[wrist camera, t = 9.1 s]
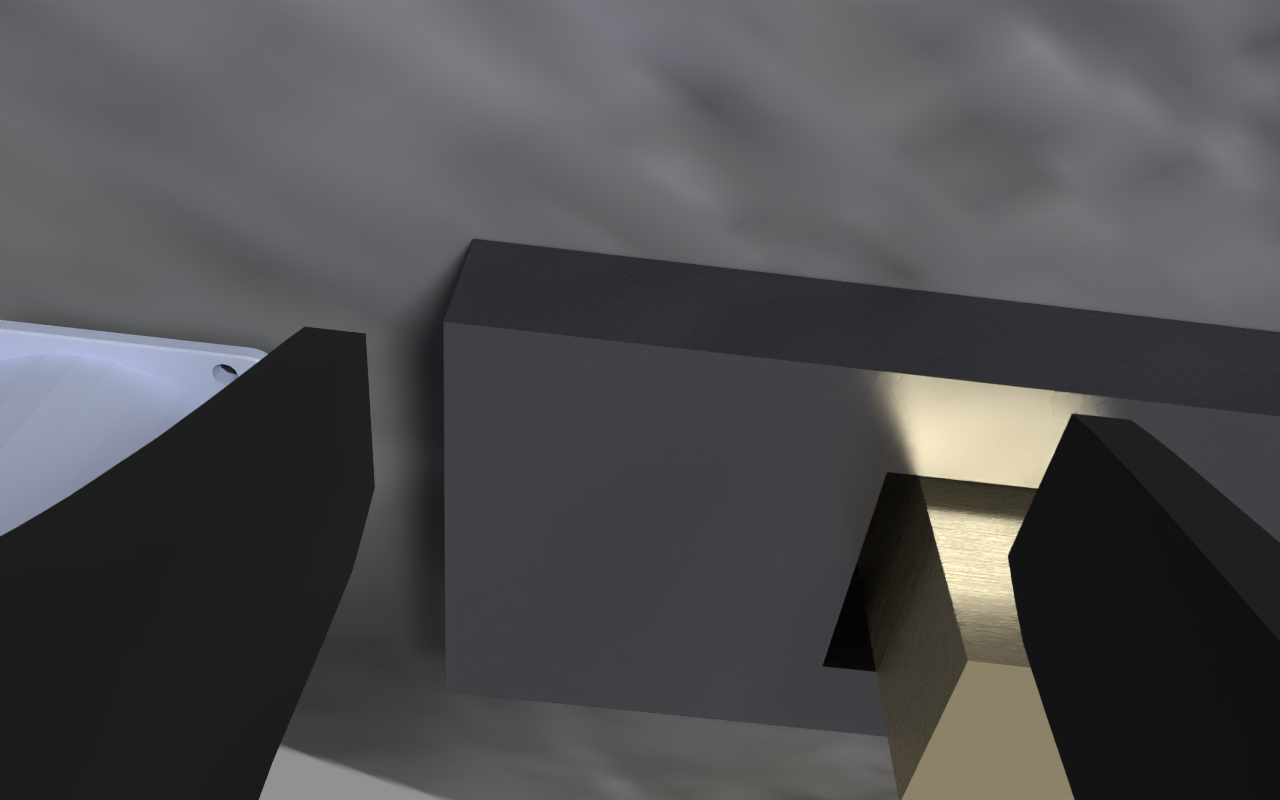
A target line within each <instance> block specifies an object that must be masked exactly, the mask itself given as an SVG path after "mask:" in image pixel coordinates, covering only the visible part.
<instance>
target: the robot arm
mask: <svg viewBox="0 0 1280 800" xmlns="http://www.w3.org/2000/svg"><path fill="white" fill-rule="evenodd" d="M220 364H225V365H228V366H231V367H232V368H233V369H234V370H236V372H237V374H232V373H228V372H226V371H225V370H224V369H223V368H222V367H221V365H220ZM374 488H375V484H374V467H373V450H372V434H371V417H370V400H369V383H368V366H367V349H366V334H365V333H356V332H347V331H338V330H329V329H320V328H311V327H304V328H302V329H301V330H299V331H298V332H297V333H295V334H294V335H293V336H291V337H290V338H289V339H287V340H286V341H285V342H283V343H282V344H281V345H279V346H278V347H277V348H275V349H274V350H273V351H272V352H270V353H269V354H267V353H265V352H263V351H261V350H258V349H254V348H247V347H238V346H229V345H220V344H211V343H202V342H193V341H184V340H175V339H166V338H157V337H148V336H140V335H131V334H122V333H113V332H104V331H95V330H86V329H77V328H68V327H59V326H50V325H41V324H32V323H23V322H14V321H5V320H0V800H259V797H260V794H261V792H262V789H263V786H264V784H265V781H266V778H267V776H268V773H269V770H270V767H271V765H272V762H273V760H274V757H275V755H276V753H277V750H278V748H279V745H280V743H281V741H282V738H283V736H284V734H285V731H286V729H287V726H288V724H289V722H290V719H291V717H292V715H293V712H294V710H295V707H296V705H297V703H298V700H299V698H300V696H301V693H302V691H303V688H304V686H305V684H306V681H307V679H308V677H309V674H310V672H311V669H312V667H313V665H314V662H315V660H316V658H317V655H318V653H319V650H320V648H321V646H322V643H323V641H324V639H325V636H326V634H327V631H328V629H329V626H330V624H331V622H332V619H333V617H334V614H335V612H336V610H337V607H338V605H339V602H340V600H341V597H342V595H343V593H344V590H345V588H346V585H347V583H348V580H349V578H350V575H351V573H352V569H353V566H354V562H355V559H356V555H357V552H358V548H359V545H360V541H361V538H362V534H363V530H364V526H365V523H366V519H367V515H368V511H369V507H370V503H371V500H372V496H373V492H374ZM1008 561H1009V568H1010V574H1011V580H1012V587H1013V593H1014V599H1015V605H1016V610H1017V615H1018V620H1019V626H1020V631H1021V636H1022V641H1023V645H1024V648H1025V651H1026V654H1027V658H1028V661H1029V664H1030V667H1031V670H1032V673H1033V677H1034V680H1035V683H1036V686H1037V689H1038V692H1039V695H1040V698H1041V701H1042V704H1043V707H1044V710H1045V713H1046V716H1047V719H1048V722H1049V725H1050V728H1051V731H1052V734H1053V737H1054V740H1055V743H1056V746H1057V749H1058V752H1059V755H1060V758H1061V761H1062V764H1063V767H1064V770H1065V773H1066V776H1067V779H1068V782H1069V785H1070V788H1071V791H1072V794H1073V797H1074V800H1280V542H1279V541H1278V540H1276V539H1275V538H1274V537H1273V536H1272V535H1270V534H1269V533H1268V532H1267V531H1266V530H1264V529H1263V528H1262V527H1261V526H1260V525H1259V524H1257V523H1256V522H1255V521H1254V520H1253V519H1252V518H1250V517H1249V516H1248V515H1247V514H1246V513H1244V512H1243V511H1242V510H1241V509H1240V508H1239V507H1237V506H1236V505H1235V504H1234V503H1233V502H1232V501H1230V500H1229V499H1228V498H1227V497H1226V496H1225V495H1223V494H1222V493H1221V492H1220V491H1219V490H1218V489H1216V488H1215V487H1214V486H1213V485H1212V484H1211V483H1209V482H1208V481H1207V480H1206V479H1205V478H1203V477H1202V476H1201V475H1200V474H1199V473H1198V472H1196V471H1195V470H1194V469H1193V468H1192V467H1190V466H1189V465H1188V464H1187V463H1186V462H1184V461H1183V460H1182V459H1181V458H1180V457H1178V456H1177V455H1176V454H1175V453H1174V452H1172V451H1171V450H1170V449H1169V448H1167V447H1166V446H1165V445H1164V444H1162V443H1161V442H1160V441H1159V440H1157V439H1156V438H1155V437H1154V436H1152V435H1151V434H1150V433H1148V432H1147V431H1146V430H1144V429H1143V428H1141V427H1140V426H1139V425H1137V424H1136V423H1135V422H1133V421H1132V420H1128V419H1119V418H1110V417H1101V416H1093V415H1084V414H1075V413H1072V414H1071V417H1070V419H1069V421H1068V423H1067V425H1066V428H1065V430H1064V432H1063V434H1062V437H1061V439H1060V441H1059V443H1058V445H1057V448H1056V450H1055V452H1054V454H1053V456H1052V459H1051V461H1050V463H1049V465H1048V467H1047V470H1046V472H1045V474H1044V476H1043V478H1042V481H1041V483H1040V485H1039V487H1038V490H1037V492H1036V494H1035V496H1034V498H1033V501H1032V503H1031V505H1030V507H1029V509H1028V512H1027V514H1026V516H1025V518H1024V520H1023V523H1022V525H1021V527H1020V529H1019V531H1018V534H1017V536H1016V538H1015V540H1014V543H1013V545H1012V547H1011V549H1010V551H1009V554H1008Z"/></svg>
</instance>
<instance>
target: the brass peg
mask: <svg viewBox="0 0 1280 800" xmlns="http://www.w3.org/2000/svg"><path fill="white" fill-rule="evenodd" d="M1037 490H1038V488H1029V487H1020V486H1011V485H1001V484H992V483H983V482H974V481H965V480H956V479H947V478H938V477H929V476H920V475H911V474H902V473H893V472H887V473H886V476H885V479H884V482H883V485H882V488H881V491H880V494H879V497H878V500H877V503H876V506H875V509H874V512H873V515H872V518H871V521H870V524H869V527H868V530H867V533H866V536H865V539H864V542H863V545H862V548H861V551H860V554H859V557H858V560H857V567H858V572H859V578H860V584H861V589H862V595H863V601H864V606H865V612H866V618H867V623H868V629H869V634H870V640H871V646H872V651H873V657H874V663H875V668H876V674H877V680H878V685H879V691H880V696H881V702H882V708H883V713H884V719H885V725H886V730H887V736H888V742H889V747H890V753H891V758H892V764H893V770H894V775H895V781H896V787H897V792H898V798H899V800H1074V797H1073V794H1072V791H1071V788H1070V785H1069V782H1068V779H1067V776H1066V773H1065V770H1064V767H1063V764H1062V761H1061V758H1060V755H1059V752H1058V749H1057V746H1056V743H1055V740H1054V737H1053V734H1052V731H1051V728H1050V725H1049V722H1048V719H1047V716H1046V713H1045V710H1044V707H1043V704H1042V701H1041V698H1040V695H1039V692H1038V689H1037V686H1036V683H1035V680H1034V677H1033V673H1032V670H1031V667H1030V664H1029V661H1028V658H1027V654H1026V651H1025V648H1024V645H1023V641H1022V636H1021V631H1020V626H1019V620H1018V615H1017V610H1016V605H1015V599H1014V593H1013V587H1012V580H1011V574H1010V568H1009V561H1008V554H1009V551H1010V549H1011V547H1012V545H1013V543H1014V540H1015V538H1016V536H1017V534H1018V531H1019V529H1020V527H1021V525H1022V523H1023V520H1024V518H1025V516H1026V514H1027V512H1028V509H1029V507H1030V505H1031V503H1032V501H1033V498H1034V496H1035V494H1036V492H1037Z"/></svg>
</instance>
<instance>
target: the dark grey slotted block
mask: <svg viewBox="0 0 1280 800" xmlns="http://www.w3.org/2000/svg"><path fill="white" fill-rule="evenodd" d="M443 325H444V502H445V678H446V692H453V693H463V694H473V695H483V696H493V697H503V698H512V699H522V700H532V701H542V702H552V703H562V704H571V705H581V706H591V707H601V708H611V709H621V710H631V711H640V712H650V713H660V714H670V715H680V716H690V717H699V718H709V719H719V720H729V721H739V722H749V723H758V724H768V725H778V726H788V727H798V728H808V729H817V730H827V731H837V732H847V733H857V734H867V735H877V736H886V737H888V736H887V730H886V725H885V719H884V713H883V708H882V702H881V696H880V691H879V685H878V680H877V674H876V668H875V663H874V657H873V651H872V646H871V640H870V634H869V629H868V623H867V618H866V612H865V606H864V601H863V595H862V589H861V584H860V578H859V572H856V571H854V569H855V566H856V563H857V560H858V557H859V554H860V551H861V548H862V545H863V542H864V539H865V536H866V533H867V530H868V527H869V524H870V521H871V518H872V515H873V512H874V509H875V506H876V503H877V500H878V497H879V494H880V491H881V488H882V485H883V482H884V479H885V476H886V473H887V472H893V473H902V474H911V475H920V476H929V477H938V478H947V479H956V480H965V481H974V482H983V483H992V484H1001V485H1011V486H1020V487H1029V488H1038V487H1039V485H1040V483H1041V481H1042V478H1043V476H1044V474H1045V472H1046V470H1047V467H1048V465H1049V463H1050V461H1051V459H1052V456H1053V454H1054V452H1055V450H1056V448H1057V445H1058V443H1059V441H1060V439H1061V437H1062V434H1063V432H1064V430H1065V428H1066V425H1067V423H1068V421H1069V419H1070V417H1071V414H1072V413H1075V414H1084V415H1093V416H1101V417H1110V418H1119V419H1128V420H1132V421H1133V422H1135V423H1136V424H1137V425H1139V426H1140V427H1141V428H1143V429H1144V430H1146V431H1147V432H1148V433H1150V434H1151V435H1152V436H1154V437H1155V438H1156V439H1157V440H1159V441H1160V442H1161V443H1162V444H1164V445H1165V446H1166V447H1167V448H1169V449H1170V450H1171V451H1172V452H1174V453H1175V454H1176V455H1177V456H1178V457H1180V458H1181V459H1182V460H1183V461H1184V462H1186V463H1187V464H1188V465H1189V466H1190V467H1192V468H1193V469H1194V470H1195V471H1196V472H1198V473H1199V474H1200V475H1201V476H1202V477H1203V478H1205V479H1206V480H1207V481H1208V482H1209V483H1211V484H1212V485H1213V486H1214V487H1215V488H1216V489H1218V490H1219V491H1220V492H1221V493H1222V494H1223V495H1225V496H1226V497H1227V498H1228V499H1229V500H1230V501H1232V502H1233V503H1234V504H1235V505H1236V506H1237V507H1239V508H1240V509H1241V510H1242V511H1243V512H1244V513H1246V514H1247V515H1248V516H1249V517H1250V518H1252V519H1253V520H1254V521H1255V522H1256V523H1257V524H1259V525H1260V526H1261V527H1262V528H1263V529H1264V530H1266V531H1267V532H1268V533H1269V534H1270V535H1272V536H1273V537H1274V538H1275V539H1276V540H1278V541H1279V542H1280V332H1272V331H1263V330H1255V329H1246V328H1238V327H1229V326H1220V325H1212V324H1203V323H1194V322H1186V321H1177V320H1169V319H1160V318H1151V317H1143V316H1134V315H1125V314H1117V313H1108V312H1100V311H1091V310H1082V309H1074V308H1065V307H1057V306H1048V305H1039V304H1031V303H1022V302H1013V301H1005V300H996V299H988V298H979V297H970V296H962V295H953V294H945V293H936V292H927V291H919V290H910V289H901V288H893V287H884V286H876V285H867V284H858V283H850V282H841V281H833V280H824V279H815V278H807V277H798V276H789V275H781V274H772V273H764V272H755V271H746V270H738V269H729V268H720V267H712V266H703V265H695V264H686V263H677V262H669V261H660V260H652V259H643V258H634V257H626V256H617V255H608V254H600V253H591V252H583V251H574V250H565V249H557V248H548V247H540V246H531V245H522V244H514V243H505V242H496V241H488V240H479V239H473V241H472V244H471V247H470V250H469V252H468V255H467V258H466V261H465V263H464V266H463V269H462V272H461V275H460V277H459V280H458V283H457V286H456V288H455V291H454V294H453V297H452V299H451V302H450V305H449V308H448V311H447V313H446V316H445V319H444V322H443Z"/></svg>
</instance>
